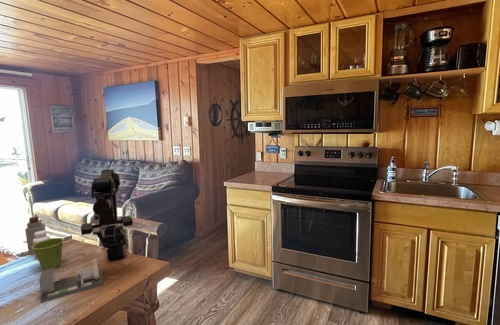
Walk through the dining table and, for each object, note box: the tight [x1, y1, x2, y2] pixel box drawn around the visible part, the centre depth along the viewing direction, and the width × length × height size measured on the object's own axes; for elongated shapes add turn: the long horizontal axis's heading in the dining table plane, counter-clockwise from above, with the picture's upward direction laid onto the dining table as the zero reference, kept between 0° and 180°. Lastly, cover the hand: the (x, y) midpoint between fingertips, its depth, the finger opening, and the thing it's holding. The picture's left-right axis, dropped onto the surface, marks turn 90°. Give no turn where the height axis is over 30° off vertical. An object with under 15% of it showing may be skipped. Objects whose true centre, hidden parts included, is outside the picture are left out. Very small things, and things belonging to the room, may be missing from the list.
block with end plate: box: [75, 257, 99, 285], centre depth 113 cm, size 8×10×6 cm
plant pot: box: [32, 237, 65, 271], centre depth 126 cm, size 12×12×11 cm
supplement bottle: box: [33, 231, 51, 261], centre depth 136 cm, size 7×7×13 cm
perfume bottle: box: [24, 216, 47, 257], centre depth 143 cm, size 7×7×18 cm
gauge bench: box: [38, 268, 104, 304], centre depth 110 cm, size 20×12×7 cm, turn 121°
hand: (109, 244), depth 117 cm, fingers open, 4 cm apart
